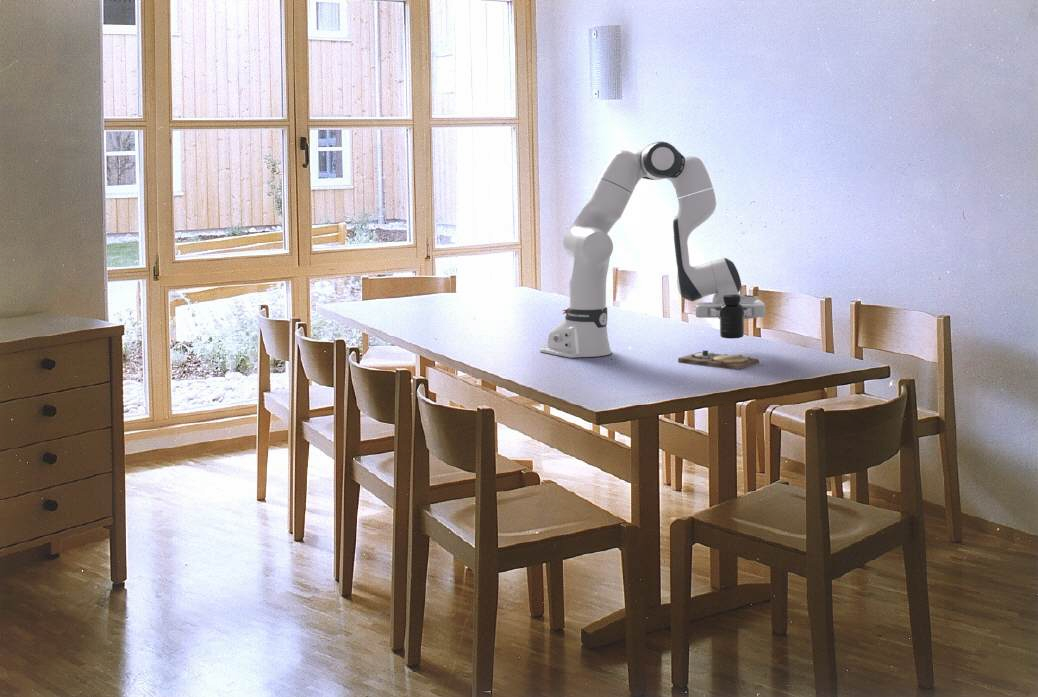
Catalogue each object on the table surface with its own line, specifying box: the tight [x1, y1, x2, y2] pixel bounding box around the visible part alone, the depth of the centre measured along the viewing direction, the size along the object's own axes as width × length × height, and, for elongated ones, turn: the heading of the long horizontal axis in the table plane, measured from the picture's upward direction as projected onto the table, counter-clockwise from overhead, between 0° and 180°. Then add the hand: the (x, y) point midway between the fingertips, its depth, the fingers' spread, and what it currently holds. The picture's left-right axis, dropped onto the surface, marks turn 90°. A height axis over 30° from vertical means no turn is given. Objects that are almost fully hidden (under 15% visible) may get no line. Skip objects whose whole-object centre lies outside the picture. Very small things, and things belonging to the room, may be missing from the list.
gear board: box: [677, 349, 760, 371], centre depth 354 cm, size 20×12×3 cm, turn 50°
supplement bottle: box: [719, 295, 745, 339], centre depth 349 cm, size 7×7×12 cm
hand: (731, 314), depth 348 cm, fingers closed on supplement bottle, 7 cm apart
